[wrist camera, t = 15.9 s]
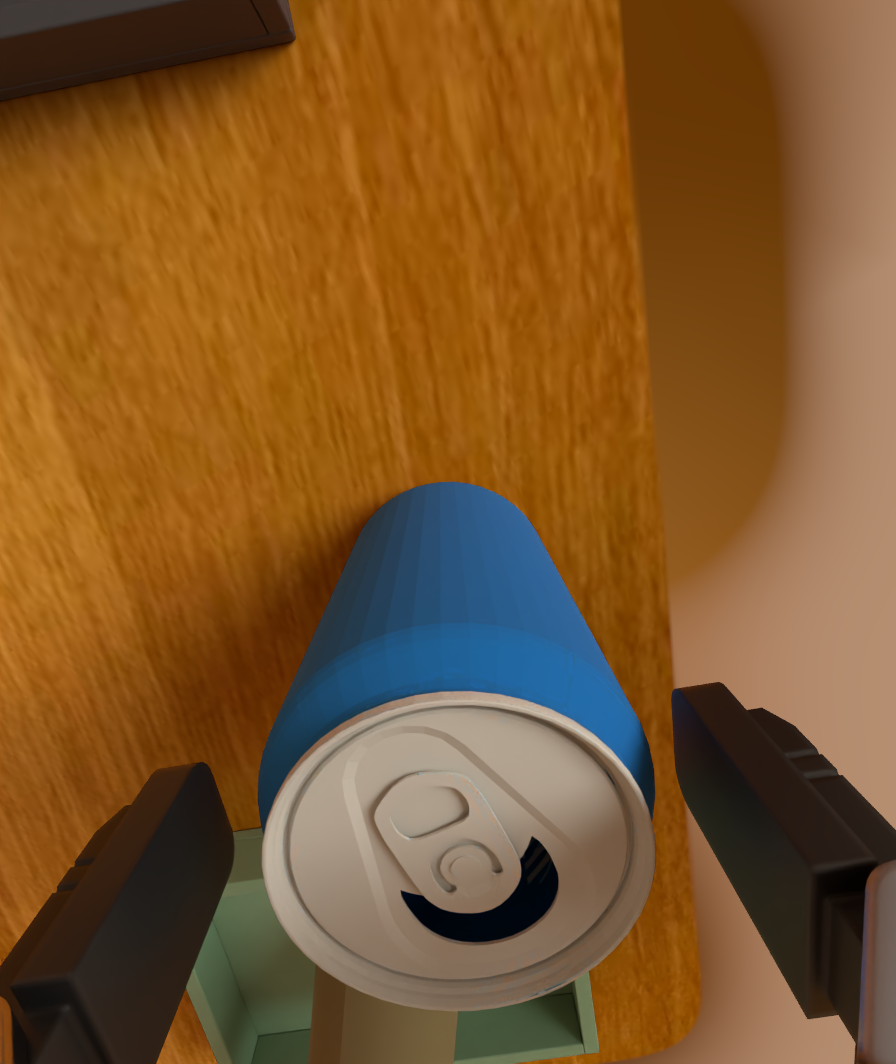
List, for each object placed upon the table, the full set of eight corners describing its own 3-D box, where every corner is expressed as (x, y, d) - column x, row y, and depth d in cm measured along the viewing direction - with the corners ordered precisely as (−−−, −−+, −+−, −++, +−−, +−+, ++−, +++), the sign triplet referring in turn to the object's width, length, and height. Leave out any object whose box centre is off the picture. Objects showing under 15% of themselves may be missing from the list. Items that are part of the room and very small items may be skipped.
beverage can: (409, 681, 21) (372, 1080, 9) (317, 530, 19) (134, 793, 8) (572, 606, 20) (748, 942, 9) (492, 441, 18) (579, 587, 7)
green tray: (555, 782, 22) (569, 833, 20) (585, 987, 26) (600, 1053, 23) (176, 839, 23) (145, 896, 20) (252, 1033, 26) (233, 1101, 24)
